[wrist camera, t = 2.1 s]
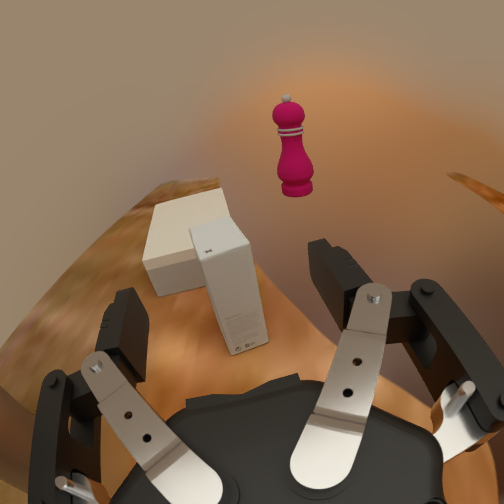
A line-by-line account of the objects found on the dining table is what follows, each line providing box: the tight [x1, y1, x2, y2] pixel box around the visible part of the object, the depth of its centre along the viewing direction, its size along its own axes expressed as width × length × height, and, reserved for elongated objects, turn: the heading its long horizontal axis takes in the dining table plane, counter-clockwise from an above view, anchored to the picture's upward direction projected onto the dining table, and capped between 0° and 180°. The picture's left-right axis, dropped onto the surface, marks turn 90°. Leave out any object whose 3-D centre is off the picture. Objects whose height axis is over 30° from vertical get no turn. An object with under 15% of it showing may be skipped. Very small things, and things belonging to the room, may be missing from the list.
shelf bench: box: [142, 188, 230, 297], centre depth 44 cm, size 12×18×6 cm, turn 11°
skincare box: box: [189, 216, 269, 355], centre depth 28 cm, size 6×4×12 cm
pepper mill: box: [272, 94, 314, 197], centre depth 53 cm, size 7×7×20 cm
